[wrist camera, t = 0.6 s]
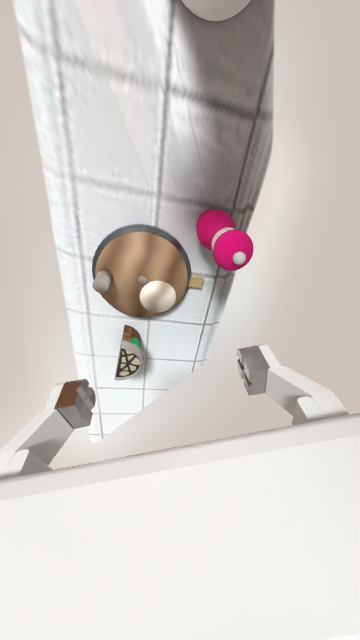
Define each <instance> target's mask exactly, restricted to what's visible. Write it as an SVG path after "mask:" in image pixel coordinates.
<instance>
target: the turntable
mask: <svg viewBox="0 0 360 640" xmlns="http://www.w3.org/2000/svg"><path fill="white" fill-rule="evenodd" d="M95 276H96V278H95V280H94V282H93V288H94V289H95V290H96V291H97V292H100V293H101V294H102V296H103V297H104V298H105V300H106V301H107V302H108V303H109V304H110V305H112V306H113V307H114V308H116V309H117V310H119V311H121V312H123V313H125V314H128V315H132V316H137V317H151V316H156V315H159V314H162V313H164V312H166V311H168V310H170V309H171V308H173V307H174V306H175V305H176V304H177V303H178V302H179V301H180V299H181V298H182V296H183V294H184V292H185V290H186V286H187V280H188V274H187V268H186V265H185V261H184V259H183V257H182V255H181V253H180V252H179V250H178V249H177V248H176V247H175V246H174V245H173V244H172V243H171V242H170V241H168V240H167V239H166V238H164V237H162V236H160V235H157V234H155V233H151V232H146V231H133V232H127V233H124V234H121V235H119V236H117V237H116V238H114V239H113V240H111V241H110V242H109V243H108V244H107V245H106V246H105V247H104V249H103V250H102V252H101V254H100V256H99V258H98V260H97V263H96V269H95Z"/></svg>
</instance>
